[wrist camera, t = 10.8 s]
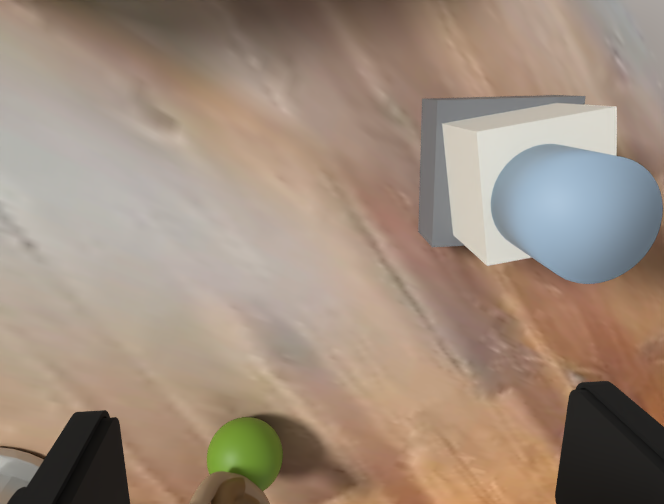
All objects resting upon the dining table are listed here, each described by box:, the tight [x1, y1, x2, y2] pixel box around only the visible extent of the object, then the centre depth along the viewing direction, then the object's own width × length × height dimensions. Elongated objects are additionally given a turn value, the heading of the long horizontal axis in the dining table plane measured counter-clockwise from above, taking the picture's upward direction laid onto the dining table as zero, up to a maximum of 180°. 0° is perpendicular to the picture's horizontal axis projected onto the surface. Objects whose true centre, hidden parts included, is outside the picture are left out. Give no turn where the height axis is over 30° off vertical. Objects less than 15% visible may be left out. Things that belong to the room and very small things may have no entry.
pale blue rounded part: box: [491, 144, 663, 284], centre depth 24 cm, size 6×6×5 cm
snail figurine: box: [190, 417, 283, 504], centre depth 35 cm, size 5×6×12 cm
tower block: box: [442, 103, 617, 266], centre depth 29 cm, size 7×7×6 cm
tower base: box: [418, 95, 585, 247], centre depth 34 cm, size 9×9×4 cm
